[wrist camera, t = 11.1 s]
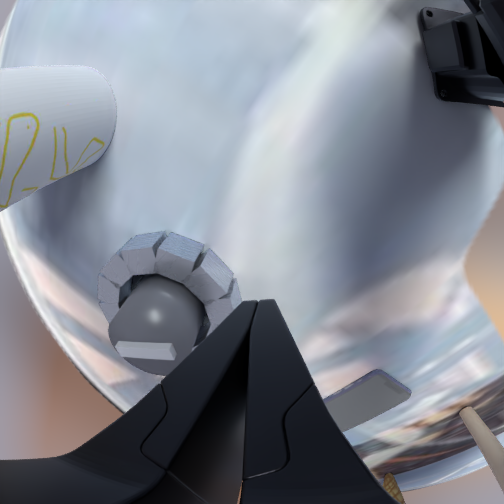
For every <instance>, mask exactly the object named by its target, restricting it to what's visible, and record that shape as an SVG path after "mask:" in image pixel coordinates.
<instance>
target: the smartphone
mask: <svg viewBox="0 0 504 504" xmlns="http://www.w3.org/2000/svg"><path fill="white" fill-rule="evenodd" d="M411 393H412V392H411V390H410V389H408V388H407V387H405V386H404V385H402V384H401V383H400V382H398V381H397V380H395V379H394V378H392V377H391V376H389V375H388V374H387V373H385V372H384V371H382V370H377V369H376V370H374V371H371V372H370V373H368V374H367V375H365V376H363V377H362V378H360V379H358V380H357V381H355V382H353V383H351V384H350V385H348V386H346V387H345V388H343V389H341V390H339V391H337V392H335V393H334V394H332V395H330V396H329V397H327V398H325V399H323V401H324V403H325V405H326V406H327V408H328V410H329V412H330V414H331V416H332V417H333V419H334V420H335V422H336V423H337V425H338V427H339V428H340V430H341V431H342V432H344V431H346V430H348V429H351V428H353V427H355V426H357V425H359V424H361V423H363V422H366V421H368V420H370V419H372V418H374V417H376V416H378V415H380V414H382V413H384V412H385V411H387V410H389V409H391V408H393V407H395V406H397V405H398V404H400V403H402V402H404V401H406V400H407V399H409V397H410V396H411Z"/></svg>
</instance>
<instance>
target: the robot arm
mask: <svg viewBox="0 0 504 504" xmlns="http://www.w3.org/2000/svg"><path fill="white" fill-rule="evenodd" d="M464 2H465V3H466V4H467V6H468V7H469V9H470V10H471V12H468V13H465V14H462V13H458V12H453V11H448V10H443V9H437V8H431V7H425V8H423V9H421V11H420V14H421V18H422V22H423V27H424V33H423V37H424V42H425V47H426V52H427V57H428V63H429V68H430V70H431V71H432V75H433V82H434V90H435V95H436V97H437V99H439V100H441V101H450V102H463V103H473V104H482V105H490V106H498V107H504V103H503V101H504V0H464ZM426 12H428V13H429V14H430V15H431V17H429V16H428V15H427V14H426ZM442 90H443V91H444V93H445V95H444V97H442V95H441V91H442ZM242 481H243V482H242ZM241 483H242V490H241V498H240V503H239V504H401V503H400V502H398V501H397V500H396V499H395V498H394V497H392V496H391V495H390V494H389V493H388V492H387V491H386V490H385V489H384V487H383V486H382V485H381V484H380V483H379V482H378V480H377V479H376V478H375V477H374V475H373V474H372V473H371V471H370V470H369V469H368V467H367V466H366V465H365V463H364V462H363V460H362V459H361V458H360V456H359V455H358V454H357V452H356V451H355V449H354V448H353V447H352V445H351V444H350V443H349V441H348V440H347V438H346V437H345V436H344V434H343V433H342V431H341V430H340V428H339V427H338V425H337V423H336V422H335V420H334V419H333V417H332V416H331V414H330V412H329V410H328V408H327V406H326V405H325V403H324V401H323V399H322V397H321V395H320V393H319V391H318V389H317V387H316V386H315V383H314V381H313V379H312V377H311V375H310V372H309V370H308V368H307V366H306V364H305V362H304V360H303V358H302V356H301V354H300V352H299V349H298V347H297V345H296V343H295V341H294V339H293V337H292V335H291V333H290V331H289V328H288V326H287V324H286V322H285V320H284V318H283V316H282V314H281V312H280V310H279V308H278V305H277V303H276V301H275V300H274V299H266V300H260V301H259V302H258V301H257V300H251V301H243V302H241V303H240V304H239V305H238V306H237V307H236V308H235V309H234V310H233V311H232V312H231V313H230V314H229V315H228V316H227V317H226V318H225V319H224V320H223V321H222V322H221V323H220V324H219V325H218V326H217V327H216V328H215V329H214V330H213V331H212V332H211V333H210V334H209V335H208V336H207V337H206V338H205V339H204V340H203V341H202V342H201V343H200V344H199V345H198V346H197V347H196V348H195V349H194V350H193V351H192V352H191V353H190V354H189V355H188V356H187V357H186V358H185V359H184V360H183V361H182V362H181V363H180V364H178V365H177V366H176V367H175V368H174V369H173V370H172V371H171V372H170V373H169V374H168V375H167V376H166V377H165V378H164V379H163V380H162V381H161V384H158V385H156V386H155V387H154V388H153V389H152V390H151V391H150V392H149V393H148V394H147V395H146V396H145V397H144V398H142V399H141V400H140V401H139V402H138V403H137V404H136V405H135V406H133V407H132V408H131V409H130V410H128V411H127V412H126V413H125V414H123V415H122V416H121V417H120V418H118V419H117V420H116V421H115V422H113V423H112V424H110V425H109V426H108V427H106V428H105V429H104V430H102V431H101V432H100V433H98V434H97V435H95V436H94V437H93V438H91V439H90V440H89V441H87V442H86V443H84V444H83V445H82V446H80V447H78V448H77V449H75V450H73V451H71V452H70V453H67V454H64V455H61V456H57V457H50V458H38V459H22V460H21V459H20V460H0V504H237V501H238V496H239V492H240V487H241Z"/></svg>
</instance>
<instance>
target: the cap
mask: <svg viewBox="0 0 504 504" xmlns="http://www.w3.org/2000/svg"><path fill="white" fill-rule="evenodd" d="M205 314H206V309H205V306H204V303H203V302H202V301H201V300H200V299H199V298H198V297H197V296H196V295H195V294H193V293H192V292H191V291H190V290H189V289H188V288H187V287H186V286H185V285H184V284H183V283H180V282H178V281H175V280H173V279H170V278H168V277H165V276H163V275H160V274H158V273H153V274H145V275H144V276H143V278H142V279H141V280H140V282H139V283H138V284H137V286H136V287H135V288H134V290H133V291H132V293H131V294H130V295H129V297H128V298H127V300H126V301H125V302H124V304H123V305H122V307H121V308H120V309H119V311H118V312H117V314H116V315H115V316H114V318H113V319H112V321H111V322H110V325H109V329H108V332H109V338H110V340H111V343H112V345H113V346H114V348H115V349H116V351H117V352H118V353H119V354H120V356H121V357H123V358H124V359H125V360H126V361H128V362H129V363H130V364H132V365H133V366H135V367H137V368H139V369H141V370H143V371H145V372H148V373H151V374H156V375H164V376H167V375H168V374H169V373H170V372H171V371H172V370H173V369H174V368H175V367H176V366H177V365H178V364H180V363H181V362H182V361H183V360H184V359H185V358H186V357H187V356H188V355H189V354H190V353H191V352H192V349H193V346H194V344H195V341H196V338H197V336H198V333H199V330H200V328H201V325H202V322H203V320H204V317H205Z"/></svg>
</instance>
